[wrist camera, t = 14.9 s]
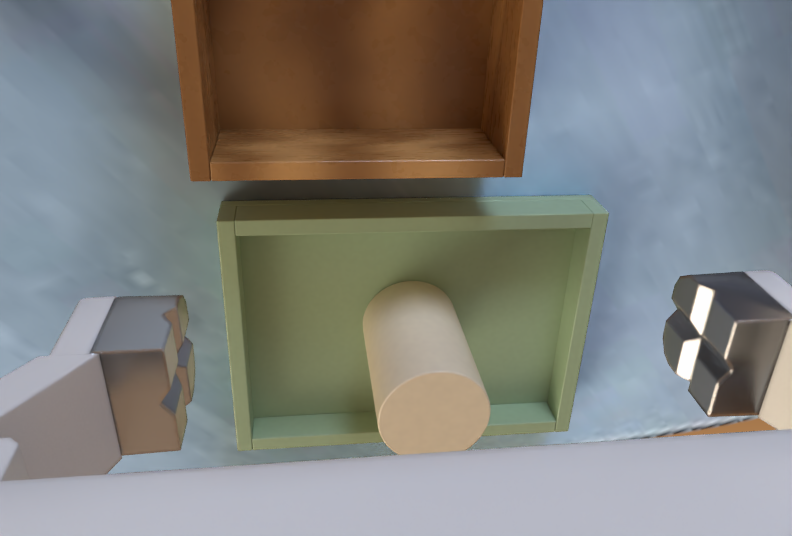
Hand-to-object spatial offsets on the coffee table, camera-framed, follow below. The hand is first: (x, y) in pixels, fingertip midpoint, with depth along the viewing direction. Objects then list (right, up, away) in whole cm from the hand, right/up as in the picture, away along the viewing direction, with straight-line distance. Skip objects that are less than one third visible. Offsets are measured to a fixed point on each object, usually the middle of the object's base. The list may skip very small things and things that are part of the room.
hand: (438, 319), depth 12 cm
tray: (0, -2, +27) cm, 27 cm away
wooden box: (-2, +13, +19) cm, 23 cm away
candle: (0, -2, +26) cm, 26 cm away
